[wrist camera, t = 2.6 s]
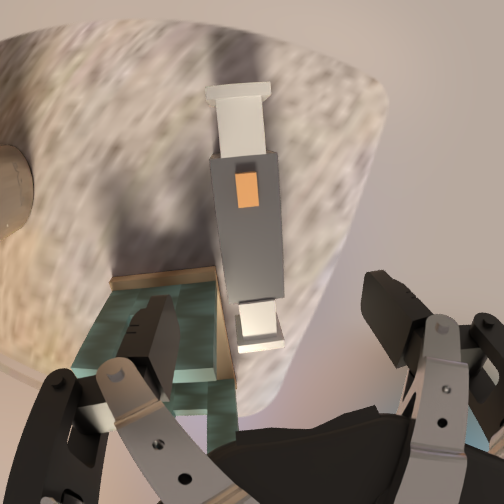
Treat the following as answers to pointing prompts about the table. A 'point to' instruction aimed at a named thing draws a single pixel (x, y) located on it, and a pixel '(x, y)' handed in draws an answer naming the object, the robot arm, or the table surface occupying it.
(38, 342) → the table surface
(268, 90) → the power strip
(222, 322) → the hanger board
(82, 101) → the table surface
